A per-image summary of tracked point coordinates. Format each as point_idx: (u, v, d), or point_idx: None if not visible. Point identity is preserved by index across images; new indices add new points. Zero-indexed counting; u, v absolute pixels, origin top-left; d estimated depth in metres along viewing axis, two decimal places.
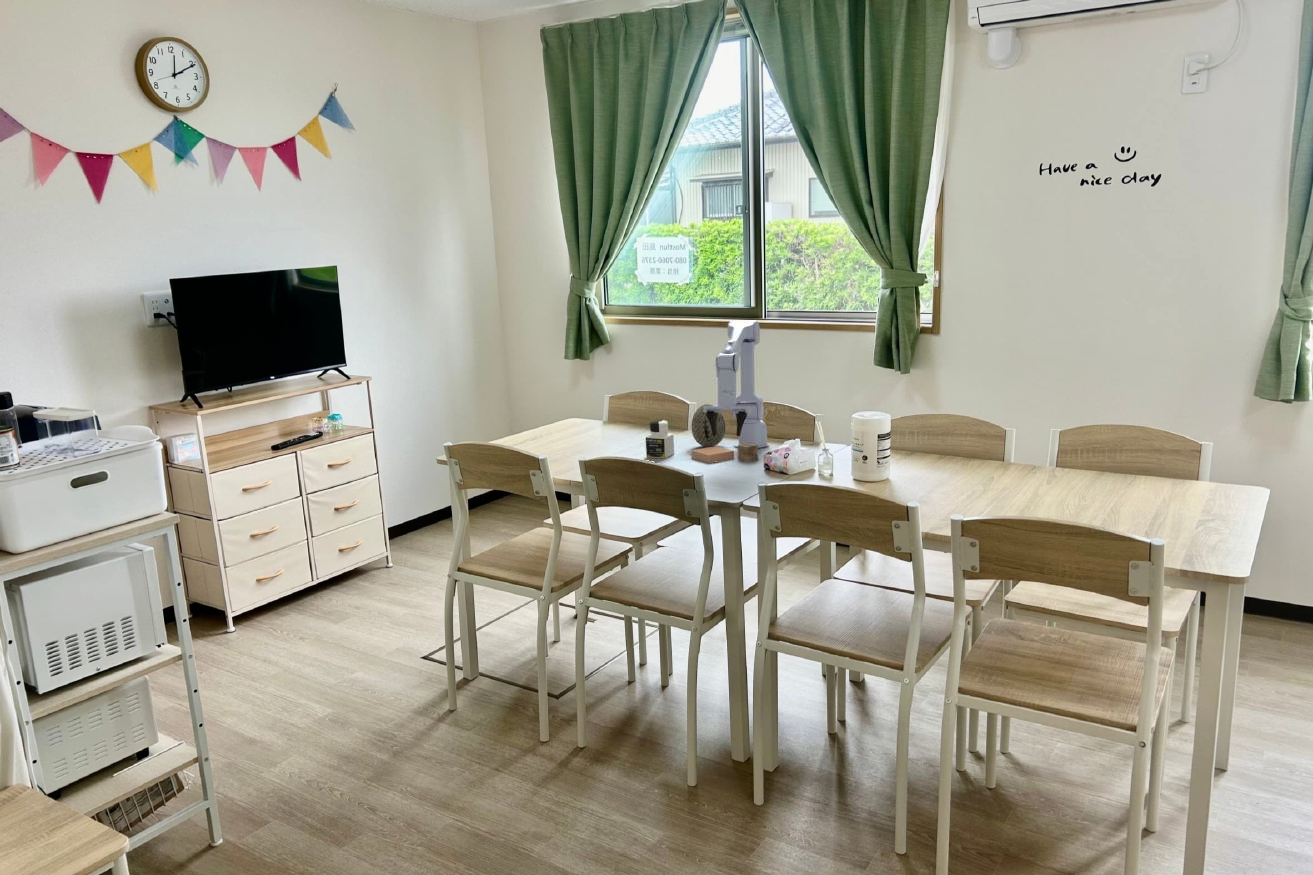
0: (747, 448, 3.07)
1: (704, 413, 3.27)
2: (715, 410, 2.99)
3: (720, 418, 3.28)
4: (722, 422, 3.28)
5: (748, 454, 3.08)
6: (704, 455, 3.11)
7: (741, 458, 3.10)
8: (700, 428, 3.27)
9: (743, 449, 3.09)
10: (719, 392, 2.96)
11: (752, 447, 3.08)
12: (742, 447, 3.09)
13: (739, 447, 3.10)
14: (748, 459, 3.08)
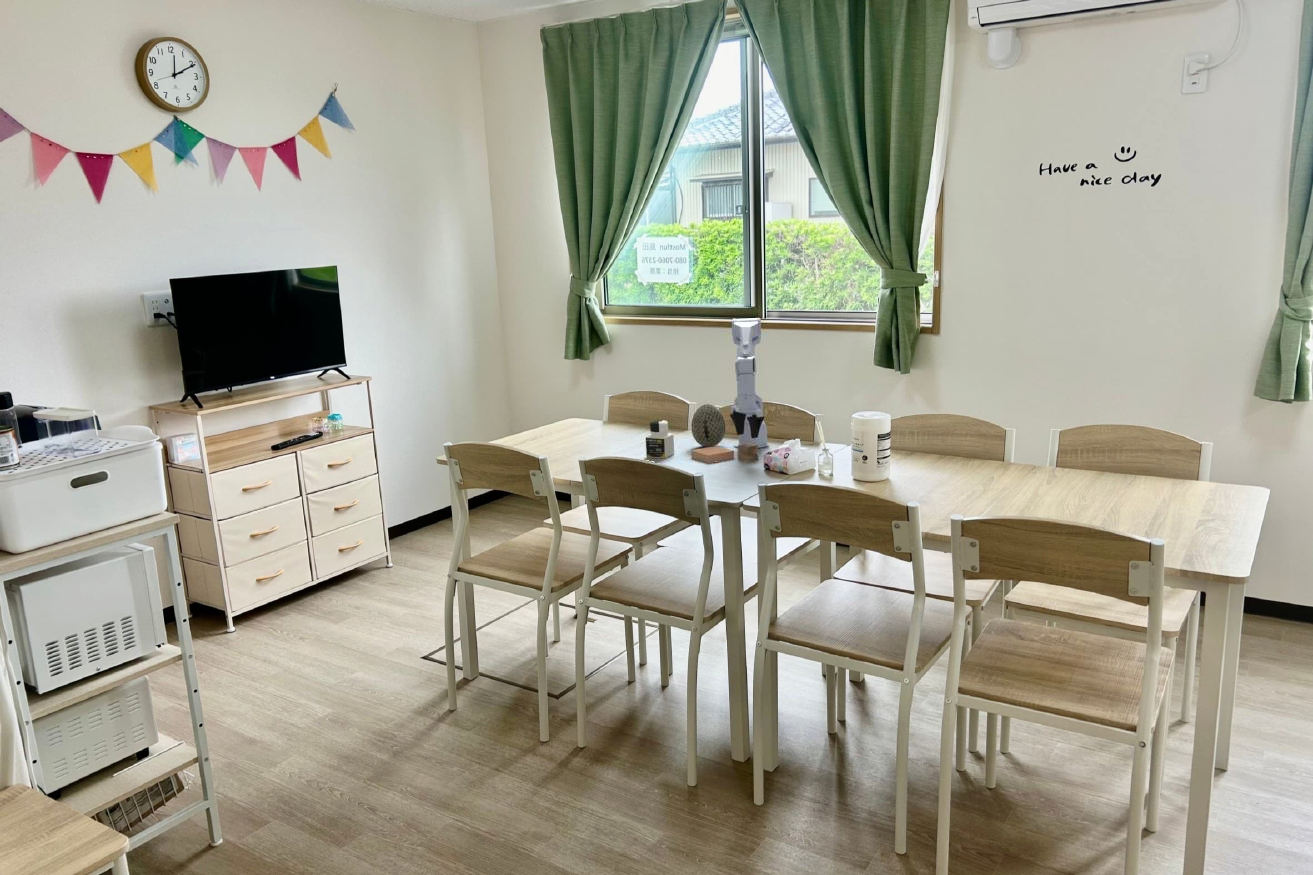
0: (747, 448, 3.07)
1: (704, 413, 3.27)
2: None
3: (720, 418, 3.28)
4: (722, 422, 3.28)
5: (748, 454, 3.08)
6: (704, 455, 3.11)
7: (741, 458, 3.10)
8: (700, 428, 3.27)
9: (743, 449, 3.09)
10: (737, 395, 3.07)
11: (752, 447, 3.08)
12: (742, 447, 3.09)
13: (739, 447, 3.10)
14: (748, 459, 3.08)
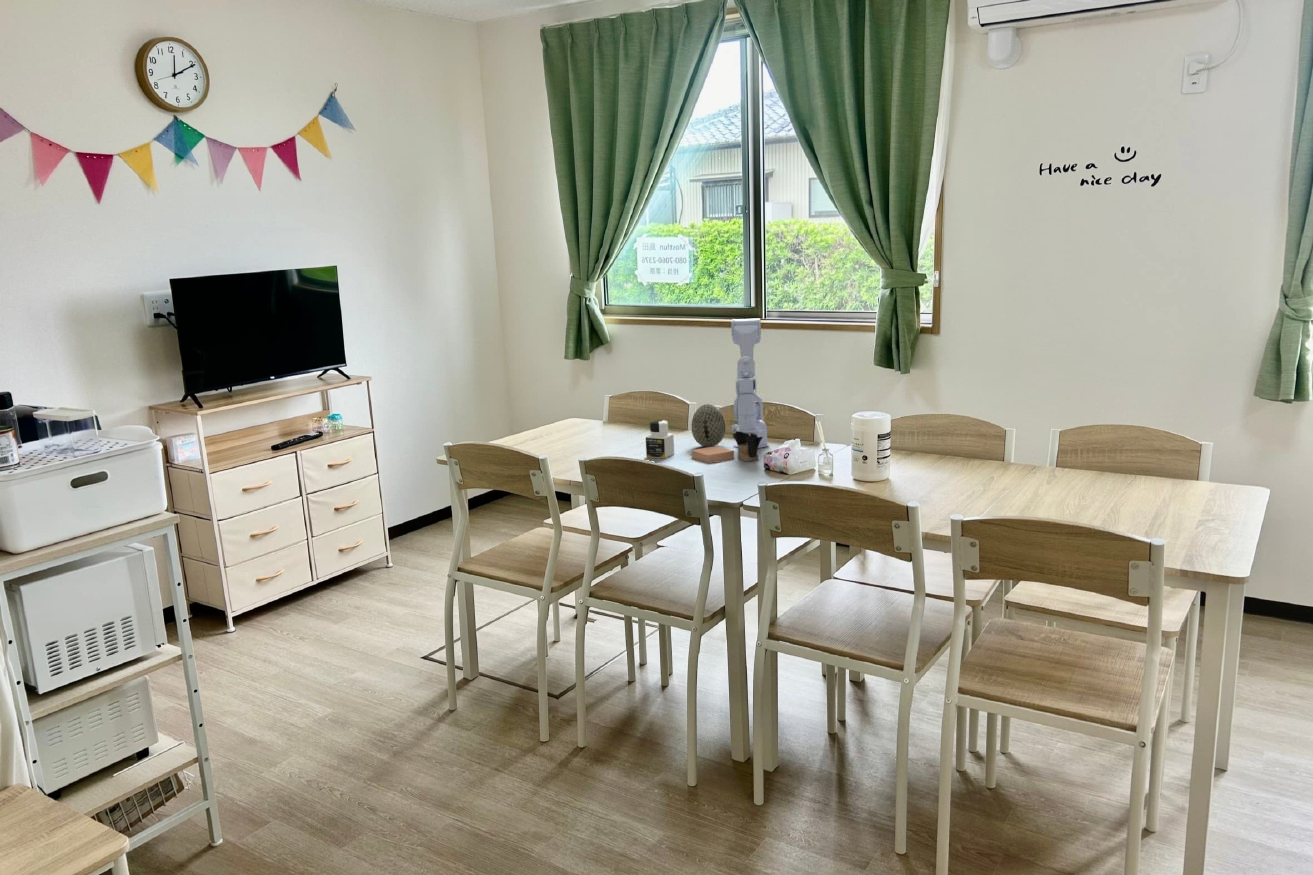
0: (747, 448, 3.07)
1: (704, 413, 3.27)
2: None
3: (720, 418, 3.28)
4: (722, 422, 3.28)
5: (748, 454, 3.08)
6: (704, 455, 3.11)
7: (741, 458, 3.10)
8: (700, 428, 3.27)
9: (743, 449, 3.09)
10: (738, 414, 3.09)
11: None
12: (742, 447, 3.09)
13: (739, 447, 3.10)
14: (748, 459, 3.08)
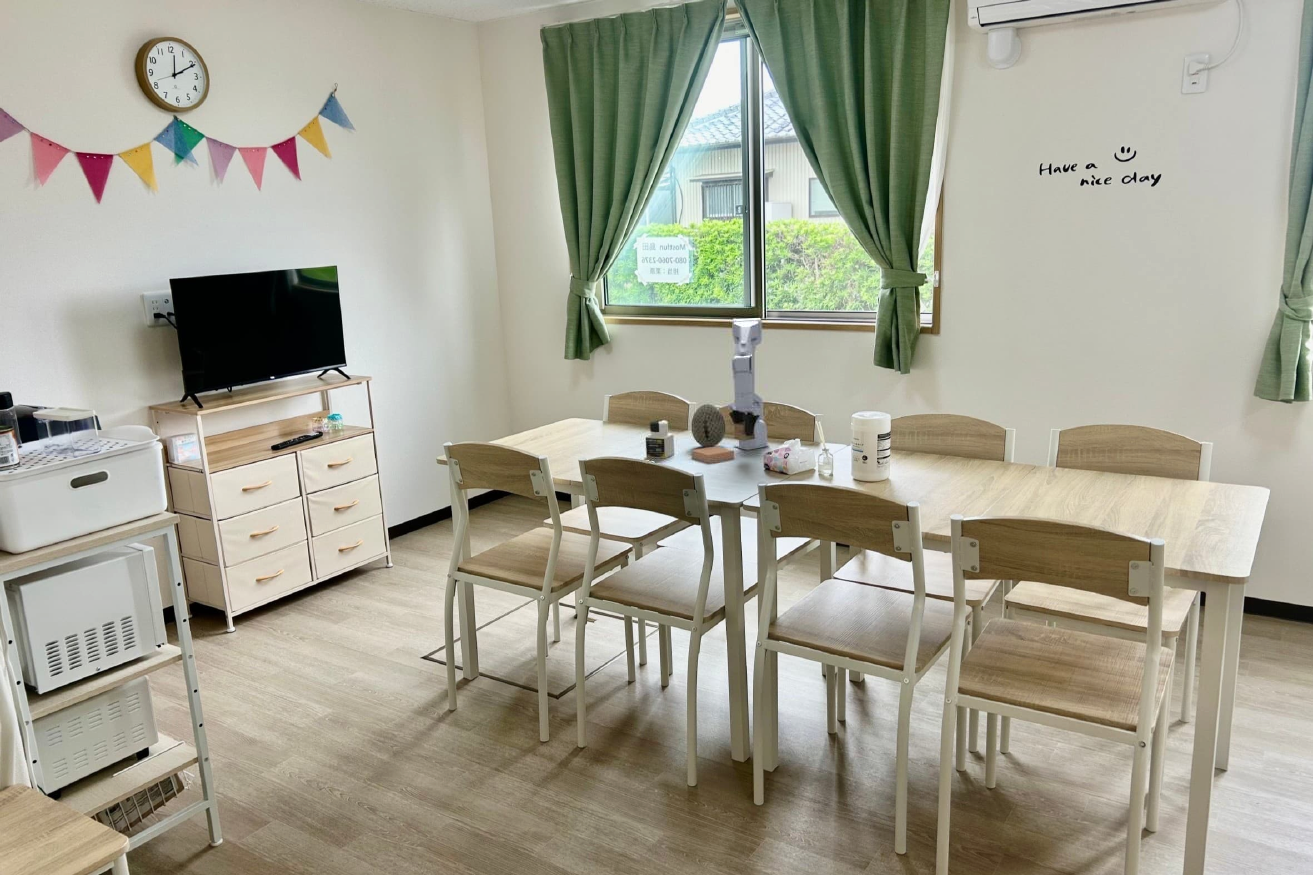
0: (744, 427, 3.06)
1: (704, 413, 3.27)
2: None
3: (720, 418, 3.28)
4: (722, 422, 3.28)
5: (744, 433, 3.07)
6: (704, 455, 3.11)
7: (738, 437, 3.09)
8: (700, 428, 3.27)
9: (740, 428, 3.08)
10: None
11: None
12: (739, 426, 3.08)
13: (736, 426, 3.09)
14: (745, 438, 3.07)
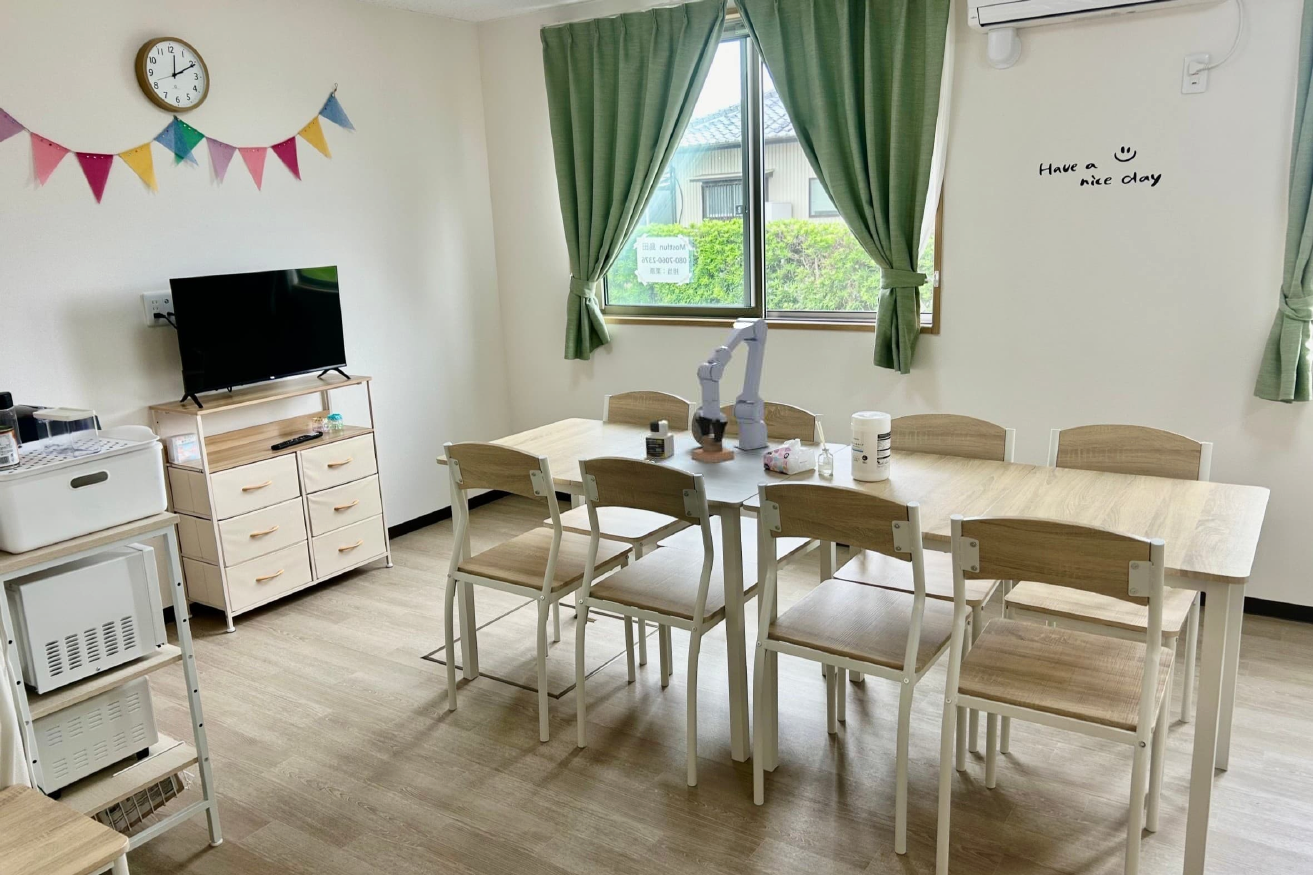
0: (712, 439, 3.12)
1: None
2: None
3: None
4: None
5: (712, 445, 3.12)
6: (704, 455, 3.11)
7: (706, 449, 3.14)
8: None
9: (708, 440, 3.13)
10: (702, 400, 3.12)
11: None
12: (707, 438, 3.13)
13: (704, 438, 3.14)
14: (713, 450, 3.13)
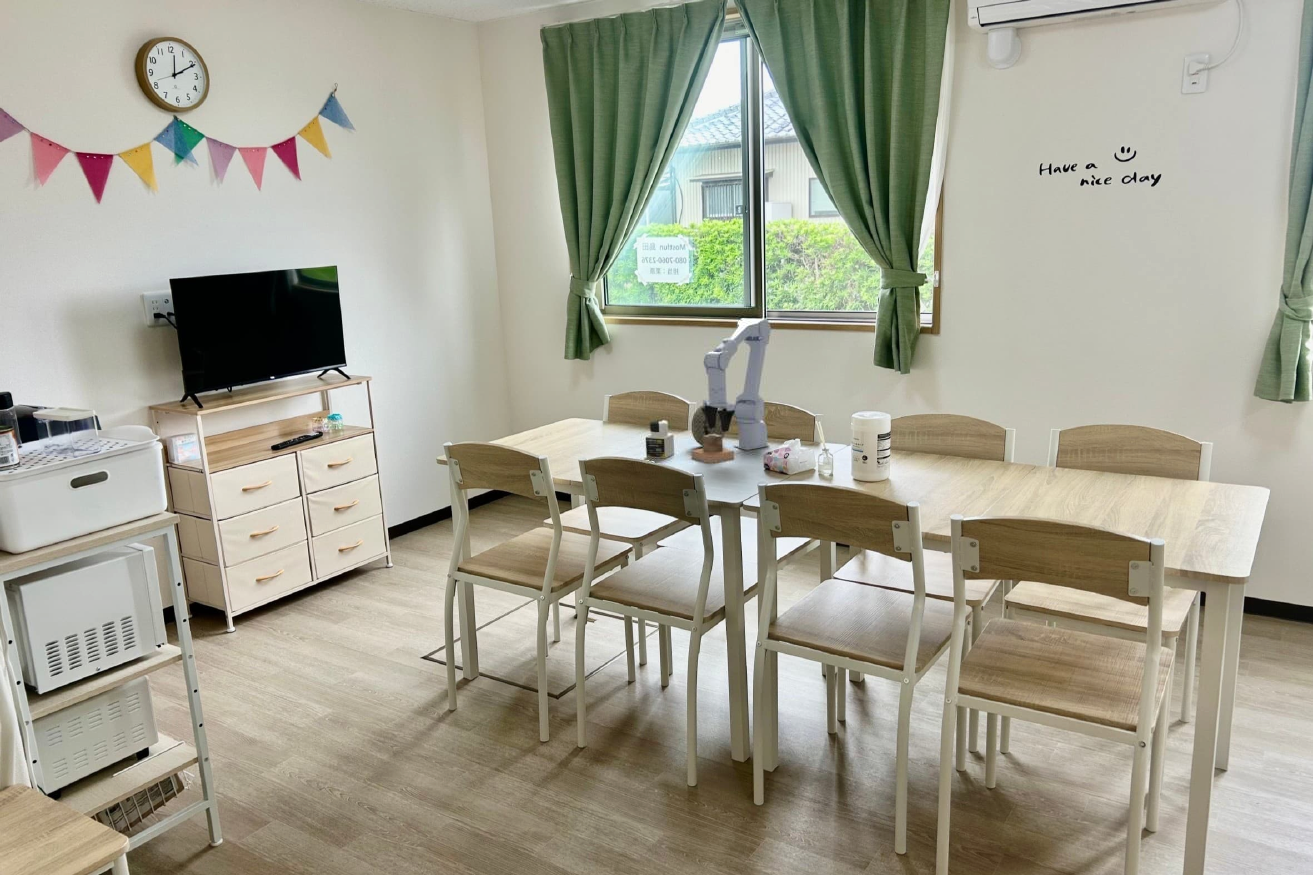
0: (712, 439, 3.12)
1: None
2: None
3: None
4: None
5: (713, 444, 3.12)
6: (704, 455, 3.11)
7: (706, 449, 3.15)
8: (700, 428, 3.27)
9: (708, 440, 3.13)
10: (708, 389, 3.11)
11: (717, 438, 3.13)
12: (707, 438, 3.13)
13: (704, 438, 3.15)
14: (713, 450, 3.13)
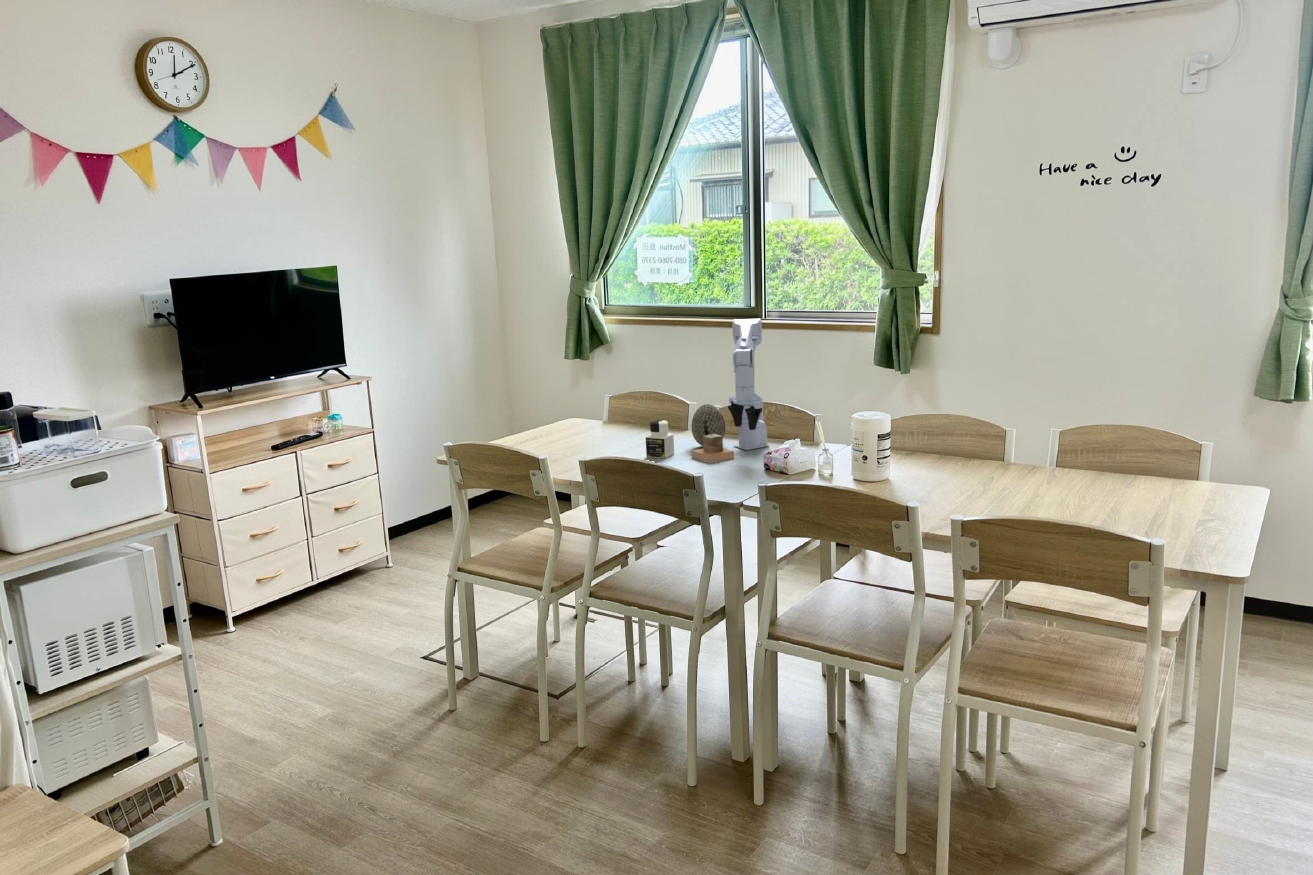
0: (712, 439, 3.12)
1: (704, 413, 3.27)
2: None
3: (720, 418, 3.28)
4: (722, 422, 3.28)
5: (712, 445, 3.12)
6: (704, 455, 3.11)
7: (706, 449, 3.15)
8: (700, 428, 3.27)
9: (708, 440, 3.13)
10: None
11: (717, 438, 3.13)
12: (707, 438, 3.13)
13: (704, 438, 3.15)
14: (713, 450, 3.12)
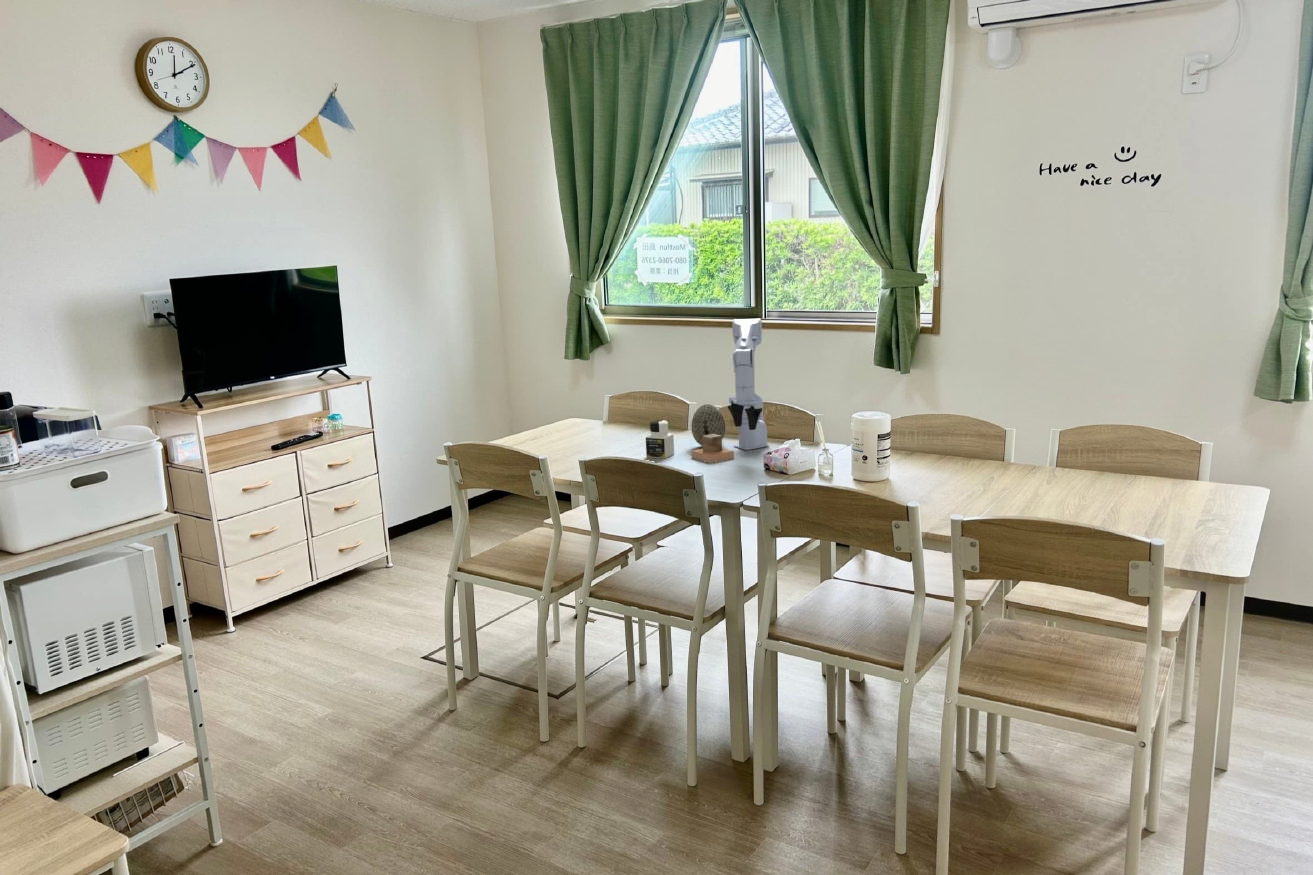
0: (711, 439, 3.12)
1: (704, 413, 3.27)
2: None
3: (720, 418, 3.28)
4: (722, 422, 3.28)
5: (712, 444, 3.12)
6: (704, 455, 3.11)
7: (705, 449, 3.15)
8: (700, 428, 3.27)
9: (707, 440, 3.13)
10: None
11: (716, 438, 3.13)
12: (706, 438, 3.13)
13: (703, 438, 3.15)
14: (712, 450, 3.13)
